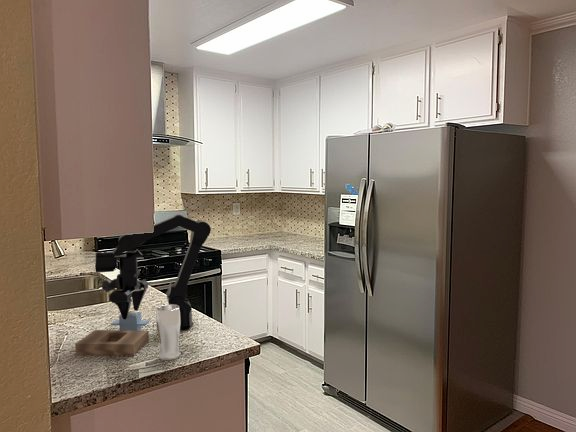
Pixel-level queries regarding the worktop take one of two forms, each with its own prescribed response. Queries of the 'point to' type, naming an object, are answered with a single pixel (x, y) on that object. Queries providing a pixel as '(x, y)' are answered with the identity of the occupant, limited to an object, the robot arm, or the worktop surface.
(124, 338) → the plate
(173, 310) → the beer glass
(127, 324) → the block
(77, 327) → the worktop surface
